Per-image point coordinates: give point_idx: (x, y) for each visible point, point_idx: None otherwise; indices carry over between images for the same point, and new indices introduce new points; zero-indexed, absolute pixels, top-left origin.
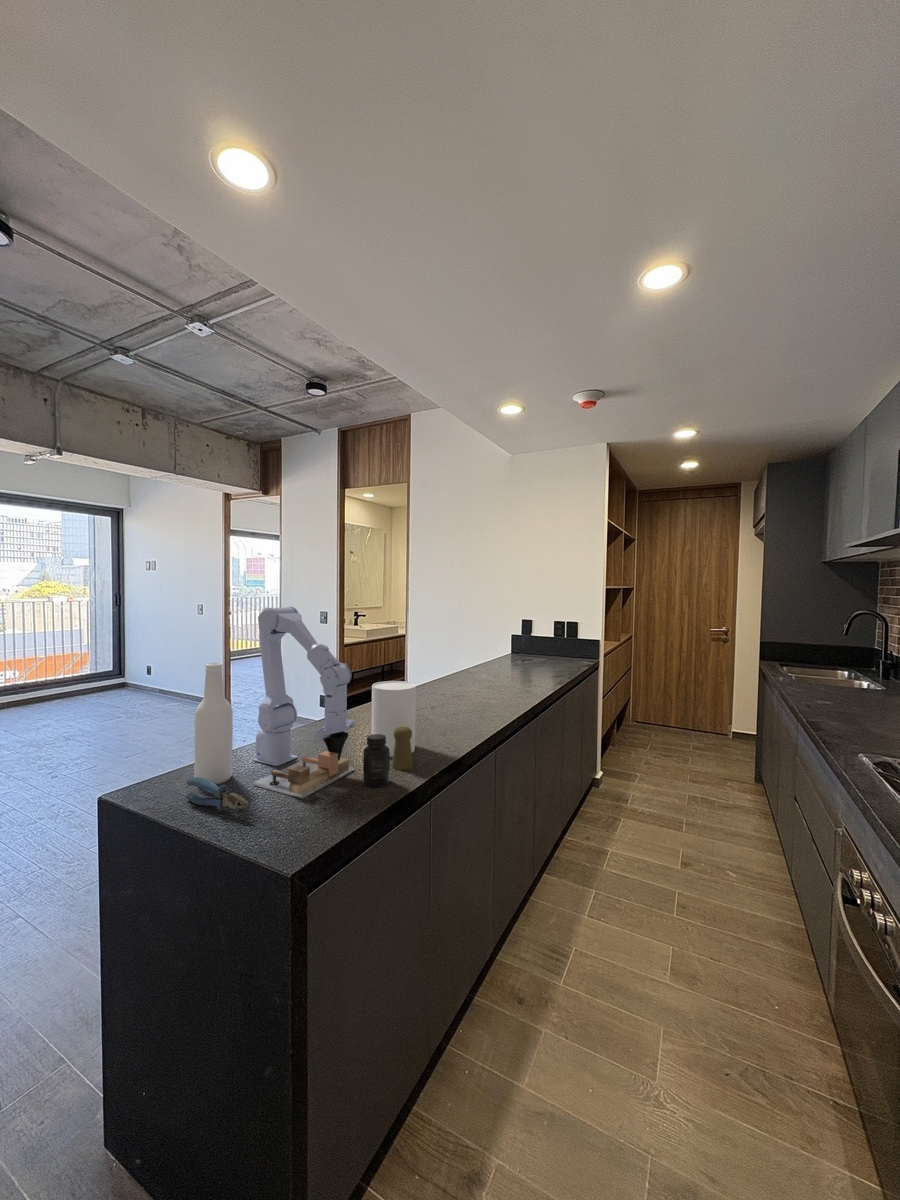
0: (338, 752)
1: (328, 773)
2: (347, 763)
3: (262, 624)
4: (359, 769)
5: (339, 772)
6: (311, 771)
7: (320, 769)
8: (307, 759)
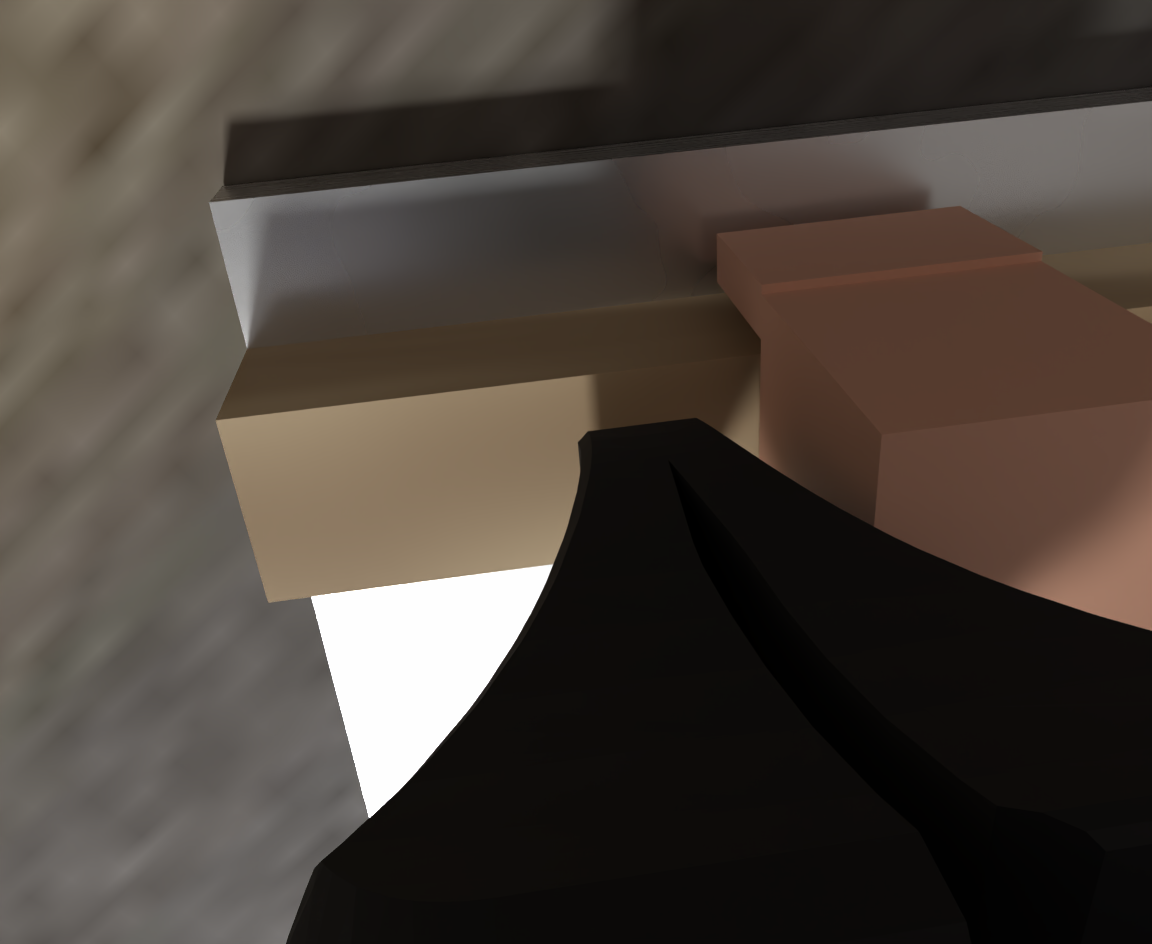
0: (760, 498)
1: None
2: (280, 375)
3: None
4: (86, 123)
5: (623, 259)
6: None
7: None
8: None
